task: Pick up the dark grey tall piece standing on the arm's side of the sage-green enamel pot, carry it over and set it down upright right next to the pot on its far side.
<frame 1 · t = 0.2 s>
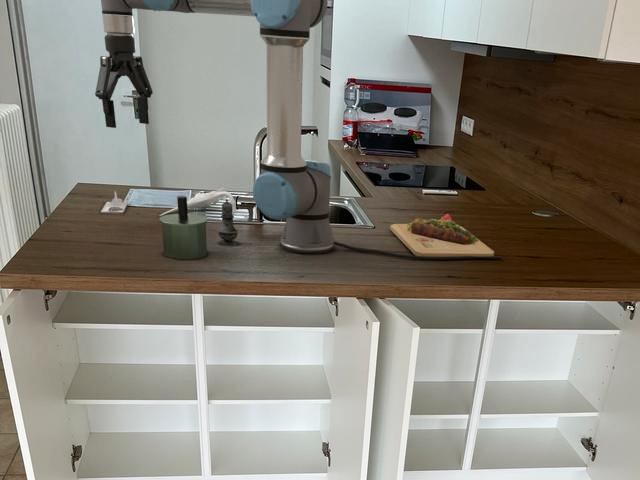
hand: (128, 125, 203), 28 cm above the counter, tool pointing down, fingers open, 13 cm apart
cutting board: (439, 244, 224), on the counter
pot lid: (183, 220, 195), point 8 cm above the counter, touching pot
car cutout: (114, 209, 240), on the counter
pot: (185, 253, 199), on the counter
dark grey tall piece: (228, 244, 211), on the counter
dinosaur: (203, 213, 242), on the counter
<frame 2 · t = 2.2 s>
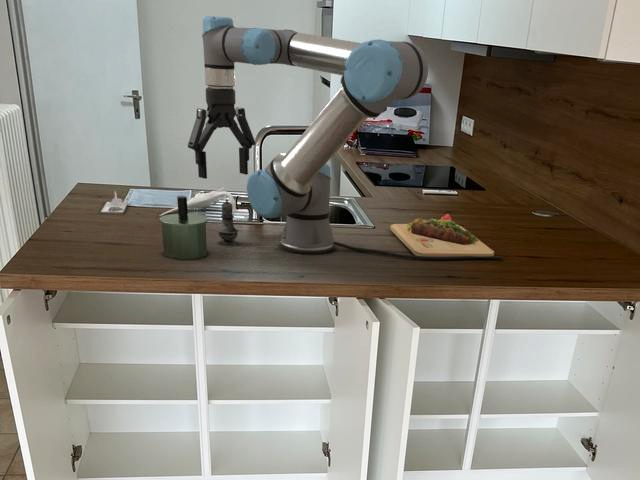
hand: (223, 175, 202), 18 cm above the counter, tool pointing down, fingers open, 13 cm apart
nothing on the counter moved.
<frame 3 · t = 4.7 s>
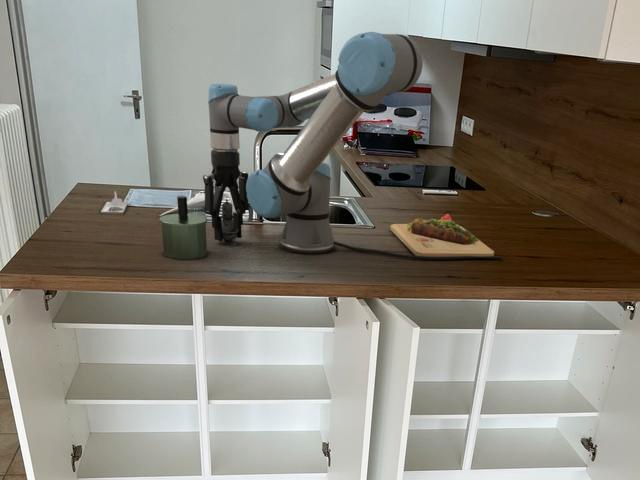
hand: (228, 238, 210), 1 cm above the counter, tool pointing down, fingers closed on dark grey tall piece, 6 cm apart
dark grey tall piece: (228, 244, 211), on the counter, touching gripper
everything else where it was.
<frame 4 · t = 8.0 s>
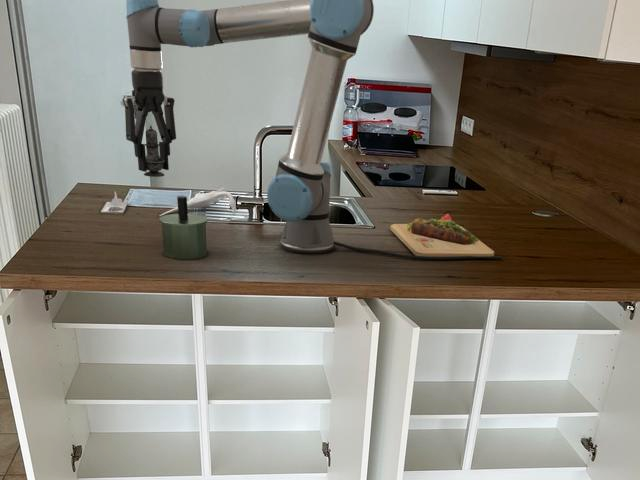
hand: (153, 169, 197), 19 cm above the counter, tool pointing down, fingers closed on dark grey tall piece, 6 cm apart
dark grey tall piece: (154, 175, 197), point 18 cm above the counter, touching gripper
everything else where it was.
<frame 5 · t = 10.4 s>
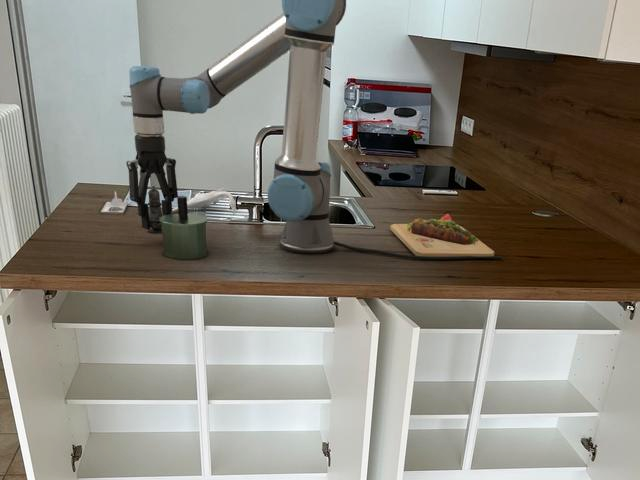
hand: (156, 226, 204), 5 cm above the counter, tool pointing down, fingers closed on dark grey tall piece, 6 cm apart
dark grey tall piece: (157, 232, 205), point 3 cm above the counter, touching gripper
everything else where it was.
when the fingers open (1 cm above the counter, at t = 11.7 s): dark grey tall piece stays where it is, on the counter.
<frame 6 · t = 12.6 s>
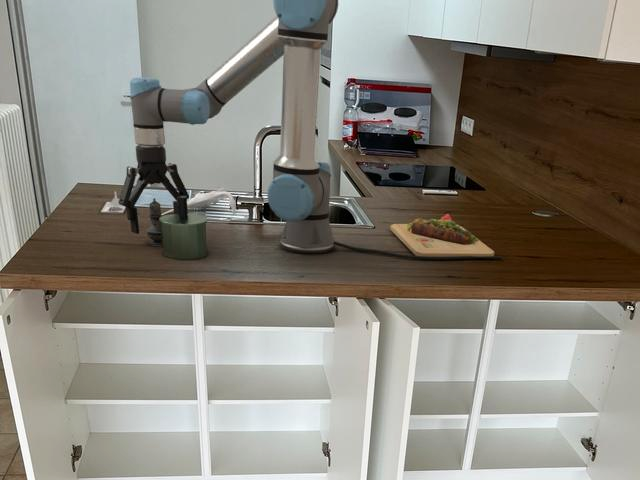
hand: (157, 229, 204), 4 cm above the counter, tool pointing down, fingers open, 13 cm apart
dark grey tall piece: (158, 244, 206), on the counter
everything else where it was.
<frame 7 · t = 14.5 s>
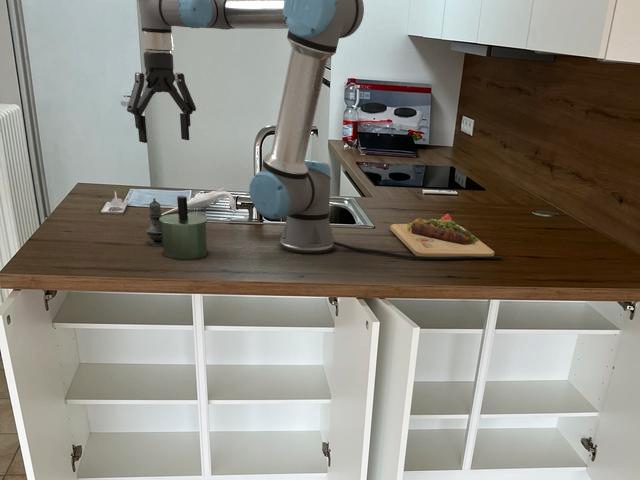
hand: (164, 141, 204), 25 cm above the counter, tool pointing down, fingers open, 13 cm apart
nothing on the counter moved.
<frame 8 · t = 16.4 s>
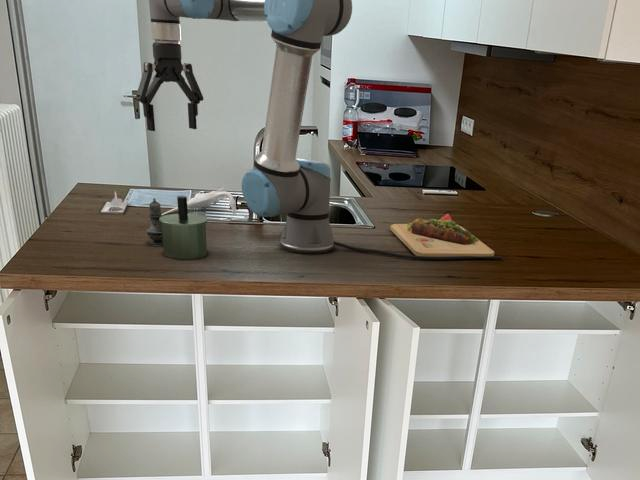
hand: (172, 129, 210), 27 cm above the counter, tool pointing down, fingers open, 13 cm apart
nothing on the counter moved.
at the end: dark grey tall piece inside the target area on the counter beside the pot (0.1 cm from its centre), on the counter; dark grey tall piece tilted 0°; pot lid moved 0.1 cm from its start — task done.
